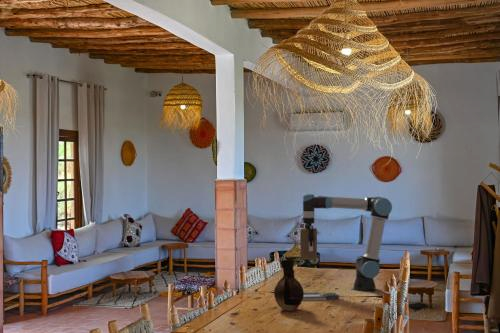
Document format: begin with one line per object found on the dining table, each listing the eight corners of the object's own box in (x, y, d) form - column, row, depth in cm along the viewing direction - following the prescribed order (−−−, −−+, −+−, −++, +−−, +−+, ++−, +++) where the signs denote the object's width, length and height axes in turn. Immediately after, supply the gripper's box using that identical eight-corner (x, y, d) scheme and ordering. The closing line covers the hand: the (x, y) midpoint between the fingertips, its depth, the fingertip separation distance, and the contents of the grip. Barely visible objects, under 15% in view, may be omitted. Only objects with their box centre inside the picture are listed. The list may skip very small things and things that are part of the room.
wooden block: (315, 259, 455) (315, 229, 455) (300, 259, 457) (300, 229, 457) (317, 257, 465) (316, 228, 464) (302, 257, 467) (302, 227, 466)
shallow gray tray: (320, 295, 452) (320, 292, 452) (325, 300, 438) (325, 296, 438) (296, 296, 450) (296, 292, 450) (301, 300, 436) (301, 296, 436)
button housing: (335, 296, 449) (335, 293, 449) (338, 299, 441) (338, 295, 441) (323, 296, 448) (323, 293, 448) (326, 299, 440) (326, 295, 440)
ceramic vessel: (301, 314, 396) (302, 262, 396) (271, 313, 399) (271, 261, 399) (305, 306, 417) (305, 257, 417) (276, 305, 420) (276, 256, 420)
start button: (333, 296, 447) (333, 292, 447) (334, 297, 443) (334, 293, 443) (327, 296, 446) (327, 292, 446) (328, 297, 442) (328, 293, 442)
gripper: (299, 216, 472) (299, 247, 472) (307, 218, 448) (307, 252, 448) (310, 215, 473) (310, 247, 473) (318, 218, 449) (318, 252, 449)
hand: (308, 250), depth 461 cm, fingers closed on wooden block, 12 cm apart
